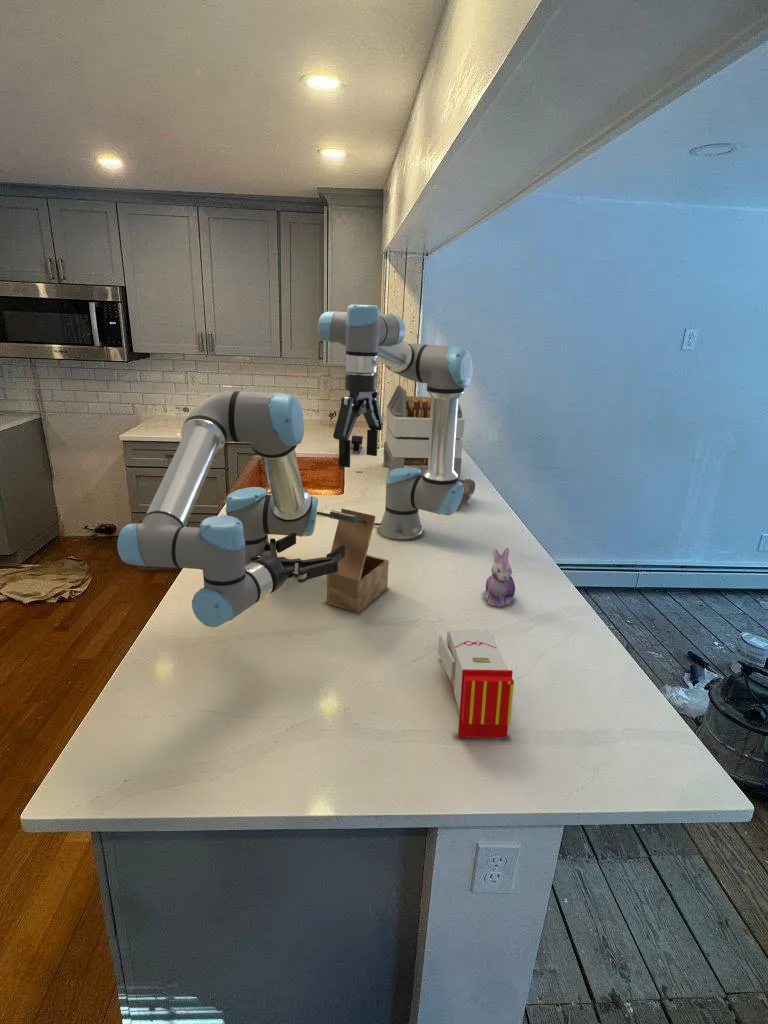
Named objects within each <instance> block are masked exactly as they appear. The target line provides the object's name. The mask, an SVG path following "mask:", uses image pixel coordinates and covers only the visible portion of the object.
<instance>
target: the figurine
mask: <svg viewBox="0 0 768 1024" xmlns="http://www.w3.org/2000/svg"><path fill="white" fill-rule="evenodd" d="M492 552H493V553H492V554H493V564H492V567H491V569H490V570H491V575H490V576H489V577H488V578H487V579H486V581H485V591H484V599H485V600H486V601H487V603H488V604H489V605H491V606H494V607H504V606H508V605H510V604H511V603H512V602H513V600H514V596H515V593H516V584H515V581H514V579H513V577H512V573H513V570H512V566H511V564H510V562H509V557H510V548H509V547H505V549H504V550H503V552H502V553H501V554H500V552H499V551H498V549H497V548H493V549H492Z"/></svg>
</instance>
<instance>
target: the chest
mask: <svg viewBox="0 0 768 1024" xmlns="http://www.w3.org/2000/svg"><path fill="white" fill-rule="evenodd" d="M389 561H390V560H388V559H385V558H381V557H377V556H373V555H370V554H367V555H366V559H365V563H364V567H363V571H362V575H361V579H360V581H357V580H353V579H350V578H346V577H343V576H339V575H336V574H332V573H331V574H327V575H326V604H328V605H331V606H334V607H337V608H340V609H344V610H347V611H350V612H353V613H357V614H359V613H360V612H361V611H363V610H364V609H365V608H366V607H367V606H368V605H370V604H371V603H372V602H373V601H374V600H375V599H377V598H378V597H379V596H380V595H382V593H384V592H385V591H386V590H387V589H388V582H389V581H388V579H389Z"/></svg>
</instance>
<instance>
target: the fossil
mask: <svg viewBox="0 0 768 1024" xmlns="http://www.w3.org/2000/svg"><path fill="white" fill-rule="evenodd" d="M458 482H461V483H462V484H463V487H464V492H463V496H462V500H461V502H460V505H459V507H458V508H457V510H458V509H462V507H463V506H465V505H468V504H469V503H468V502H469V501H470V500H471V497H472V496H473V495H474V494H475V490H476V483H475V480H473V479H471V478H466V479H463V478H460V480H458Z"/></svg>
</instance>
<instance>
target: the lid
mask: <svg viewBox="0 0 768 1024" xmlns="http://www.w3.org/2000/svg"><path fill="white" fill-rule="evenodd" d="M329 514H330V516H329V518H330V519H333V520H338V522H337V525H336V530H335V533H334V538H333V542H332V546H331V550H330V552H332V551H333V550H335V549H337V548H338V547H340V546H341V545H345V557H343V558H342V559H341V561H340V562H338V572H335V573H332V574H336V575H339V576H343V577H346V578H350V579H353V580H357V581H360V579H361V575H362V571H363V567H364V563H365V559H366V555H368V550H369V546H370V542H371V537H372V535H373V529H374V527H375V525H374V523H376V522H375V521H376V517H377V516H376V515H372V514H369V513H365V512H364V513H363V512H359V511H355V510H350V509H346V508H341V509H340V511H338V510H334V509H332V510H330V512H329Z"/></svg>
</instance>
